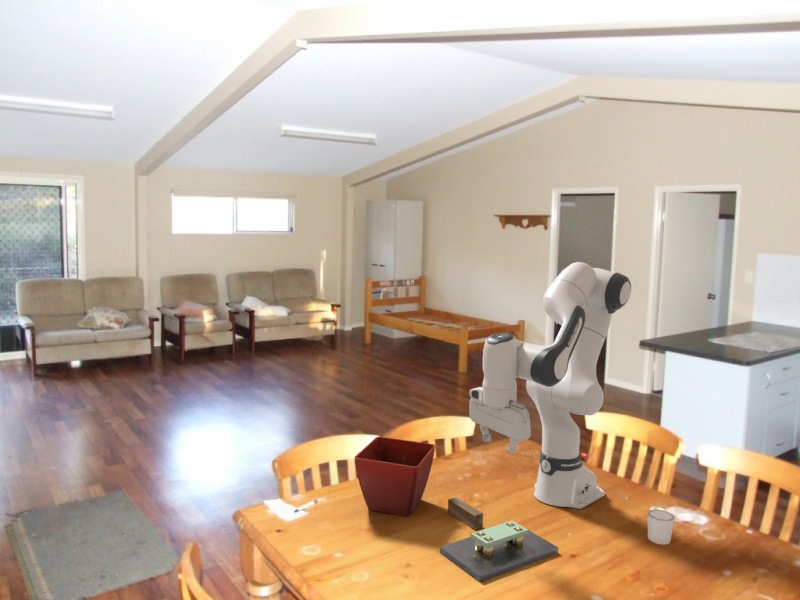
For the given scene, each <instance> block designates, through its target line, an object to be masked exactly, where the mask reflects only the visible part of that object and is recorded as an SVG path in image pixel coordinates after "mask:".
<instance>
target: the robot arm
mask: <svg viewBox="0 0 800 600" xmlns="http://www.w3.org/2000/svg"><path fill="white" fill-rule="evenodd" d="M631 291H632V284H631V281H630V279H629V277H628V276H626V275H625V274H622V273H619V272H613V271H610V270H607V269H605V268H599V267H592V266H591V265H589V264H587V263H586V262H582V261H575V262H573V263H571V264H569V265H566V266H565V267H563V268H562V269H561V270H560V271H559V273H558V275H557V277H555V279H554V280H553V281H552V283H550V285H549V287H547V289H546V291H545V293H544V294H543V298H542V305H543V308H544V311H545V314H547V316H549V318H550V319H551V320H552V321H554V322H555V323H557V324H559V325H560V326H561V327H560V329H559V331H558V334H557V335H556V336H555V339H554V342H553V343H552V344H549V345H548V344H547V345H540V344H535V343H531V342H527V341H522V340H519V339H518V338H515V335H513V334H512V333H509V332H498V333H497V332H496V333H493V334H491V335H489V336H487V337H486V339H485V341H484V345H483V352H482V372H483V381H482V386H478V387H475V388H471V389H469V397H470V399H469V407H468V409H469V411H468V412H469V418H470V420H471V422H473V423H476V424H477V425H479V429H480V433H481V435H482V441H483V442H485V443H490V442H491V441H492V434H490V430H491V431H493V432H497V433H498V434H501V435H503V436H505V437H508V438H509V442H510V443H509V444H508V445H506V452H507V453H509V454H515V453H517V452H516V451H517V450H516V449H517V446H518V444H519V442H523V441H527V440H529V439H530V438H531V435H532V431H531V430H532V429H531V419H530V415H529V410H528V409H527V408H526V407H525V405H524V404H522V403H519V402H518V401H517V399H518V398H517V397H518V396H517V394H518V392H517V389H518V385H517V379H518V378H519V379H521V380H526V384H525V386H526V387H525V388H526V392H527V395H528V396H529V397H530V398H531V399H532V401H533V403H534V405H535V407H536V410H537V412H538V415H539V417H540V422H541V427H542V429H541V439H542V440H541V441H542V442H541V450H540V451H539V452H540V453H539V466H538V471H537V477H536V482H535V483H534V489H535V490H534V491H533V495H534V497H535V498H536V500H538V501H539V502H541V503H544V504H547V505H550V506H555V507H562V508H563V507H566V508H574V509H577V510H578V509H581V510H582V509H583V508H585V507H587V506H589V505H590V504H592V503H594V502H596V501H598V500H599V499H601V498H603V497H605V491H604V490H603V489H602V488H601V487H600V486H599V485H598V480H597V479H598V478H597V476H596V475H595V473H594V472H593V471H592V470H590V469H589V468H588V467H587V466H585V465H584V464H583V461H585V462H587V461H588V460H589V458H590V456H589V454H588V453H584V452H582V453H580V443H581V442H580V438H581V430H580V427H579V426H578V424H577V423H576V422H575V421H574V419H573V418H572V417H571V414H574V415H580V416H593V415H595V414H597V413H598V412H599V411H600V410H601V408H602V406H603V403H604V399H605V397H604V390H603V388H602V387H601V385H600V383H599V381H598V377H597V363H598V361H599V356H600V354H601V350H602V348H603V345H604V344H605V343H604V342H605V340H606V339H607V338H606V337H607V335H608V332H609V329H610V325H611V320H612V314H614V313H616V312H617V311H618V310H620V309H622V308H623V307H624V306H625V305H626V304H627V303H628V301H629V299H630V296H631ZM570 413H571V414H570ZM582 460H583V461H582Z"/></svg>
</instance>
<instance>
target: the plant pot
mask: <svg viewBox="0 0 800 600" xmlns="http://www.w3.org/2000/svg"><path fill="white" fill-rule="evenodd" d="M435 449H436V445H435V443H434V444H433V443H427V442H420V441H414V440H406V439H400V438H393V437H392V438H391V437H387V436H385V437H384V436H376V437H374V439H372V441H370V442H369V443H368V444H367V445H366V446H365V447H364V448H362V450H360V452H358V453H357V454H356V455H355V456H354V463H355V464H354V465H355V469H356V475H357V479H358V482H359V486H360V490H361V492H362V496H363V499H364V501H365V504H366V506H367V509H368V510H369V511H375V512H379V513H385V514H386V513H387V514H391V515H395V516H396V515H397V516H403V517H409V516H410V515H411V514H412V513H413V511H414V510H415V509H416V508H417V506H418V504H419V503H420V502H421V500H422V498H423V495H424V493H425V489H426V487H427V484H428V480H429V477H430V473H431V469H432V467H433V466H432V465H433V460H434V456H435V451H436V450H435Z"/></svg>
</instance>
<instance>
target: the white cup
mask: <svg viewBox="0 0 800 600" xmlns="http://www.w3.org/2000/svg"><path fill="white" fill-rule="evenodd" d="M646 518H647V538H648V540H649V541H650V542H652V543H654V544H657V545H668V544H670V543H671V540H672V533H673V529H674V523H675V515H674V514H673V513H672V512H669V511H666V510H663V509H651V510H648V511H647V517H646Z"/></svg>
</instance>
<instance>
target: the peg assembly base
mask: <svg viewBox="0 0 800 600" xmlns="http://www.w3.org/2000/svg"><path fill="white" fill-rule="evenodd" d="M508 522H509V521H508ZM512 524H513V523H512V522H509V527H512ZM516 531H518V532H519V531H520V527H517V529H516ZM479 536H480V537H481V536H483V532H479ZM487 541H488V542H489V541H491V537H487ZM439 553H440V554H441V555H442V556H444V557H445V558H447V559H448V560H449V561H451V562H452V563H454V564H455V565H456V566H458V567H459V568H460V569H461V570H462V571H464V572H466V573H468V575H470V576H471V577H472V578H473V579H475V580H477V581H478V582H480V583H482V582H485V581H487V580H489V579H491V578H494V577H497V576H500V575H502V574H505V573H507V572H510V571H513V570H515V569H519V568H521V567H524V566H527V565H530V564H532V563H534V562H537V561H540V560H542V559H543V560H544V559H545V558H548V557H550V556H551V557H552V556H554V555H556V554H559V547H558V546H556V545H555V544H553V543H551V542H550V541H548V540H546V539H545V538H543V537H541V536H540V535H537V534H536V533H535V532H533V531H532V530H529V529H528V534H527V535H524V536H521V537H518V538H515V539H512V540H509V541H506V542H503V543H500V544H497V545H494V546H491V547H488V548H485V547H484V546H482V545H481V544H479V543H478V542H476V541H475V540H473V539H472V538H471V536H469V537H466V538H462V539H460V540H456V541H453V542H451V543H447V544H444V545H441V546H439Z"/></svg>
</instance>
